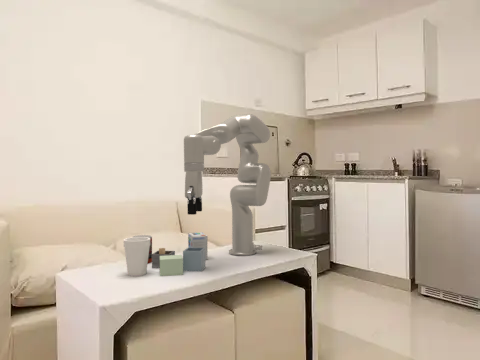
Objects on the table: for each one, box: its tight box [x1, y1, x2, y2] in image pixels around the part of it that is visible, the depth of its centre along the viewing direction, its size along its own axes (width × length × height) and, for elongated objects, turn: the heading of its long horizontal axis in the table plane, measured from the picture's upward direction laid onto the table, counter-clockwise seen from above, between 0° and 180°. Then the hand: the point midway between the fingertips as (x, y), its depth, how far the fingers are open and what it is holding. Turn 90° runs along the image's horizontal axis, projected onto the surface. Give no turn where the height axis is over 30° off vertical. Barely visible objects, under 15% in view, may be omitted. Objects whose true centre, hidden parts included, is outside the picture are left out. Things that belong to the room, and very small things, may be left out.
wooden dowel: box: [158, 247, 166, 254], centre depth 145 cm, size 2×2×7 cm
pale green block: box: [159, 254, 184, 277], centre depth 135 cm, size 8×6×6 cm
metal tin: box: [151, 250, 176, 269], centre depth 146 cm, size 7×7×6 cm
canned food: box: [132, 234, 153, 264], centre depth 153 cm, size 8×8×11 cm
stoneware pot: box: [182, 246, 206, 272], centre depth 141 cm, size 7×7×8 cm
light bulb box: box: [187, 231, 209, 261], centre depth 160 cm, size 11×7×11 cm, turn 18°
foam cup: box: [123, 236, 150, 277], centre depth 134 cm, size 10×9×13 cm
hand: (195, 212), depth 141 cm, fingers open, 9 cm apart
